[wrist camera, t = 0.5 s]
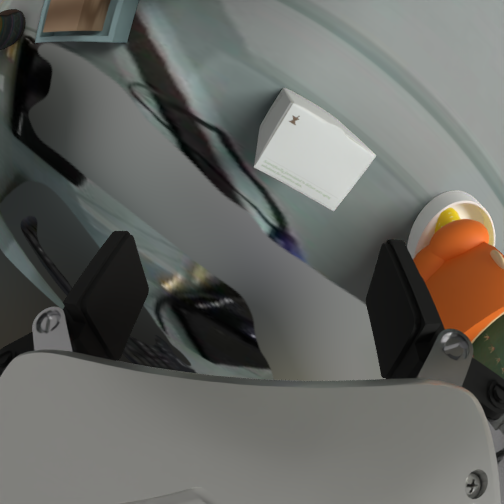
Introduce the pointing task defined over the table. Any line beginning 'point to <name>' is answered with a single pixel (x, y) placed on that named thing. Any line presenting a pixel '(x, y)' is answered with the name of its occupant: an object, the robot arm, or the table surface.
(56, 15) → the walnut block
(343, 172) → the skincare box
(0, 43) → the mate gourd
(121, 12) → the teal tray
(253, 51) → the table surface
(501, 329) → the potted cactus
